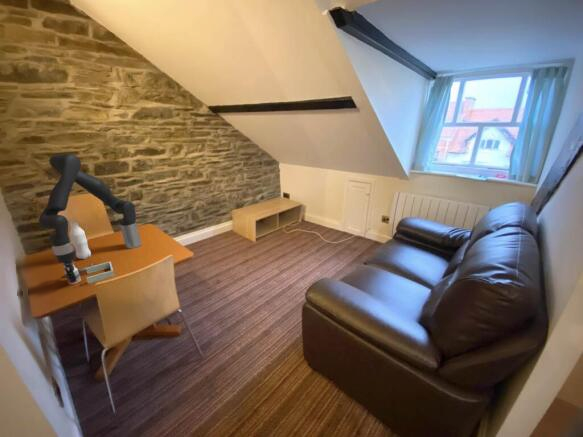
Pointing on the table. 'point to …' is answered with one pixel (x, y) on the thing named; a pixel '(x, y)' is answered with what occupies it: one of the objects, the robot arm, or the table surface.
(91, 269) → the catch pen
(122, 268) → the table surface
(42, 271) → the table surface
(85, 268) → the bar
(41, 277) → the table surface
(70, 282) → the pill bottle
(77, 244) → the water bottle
